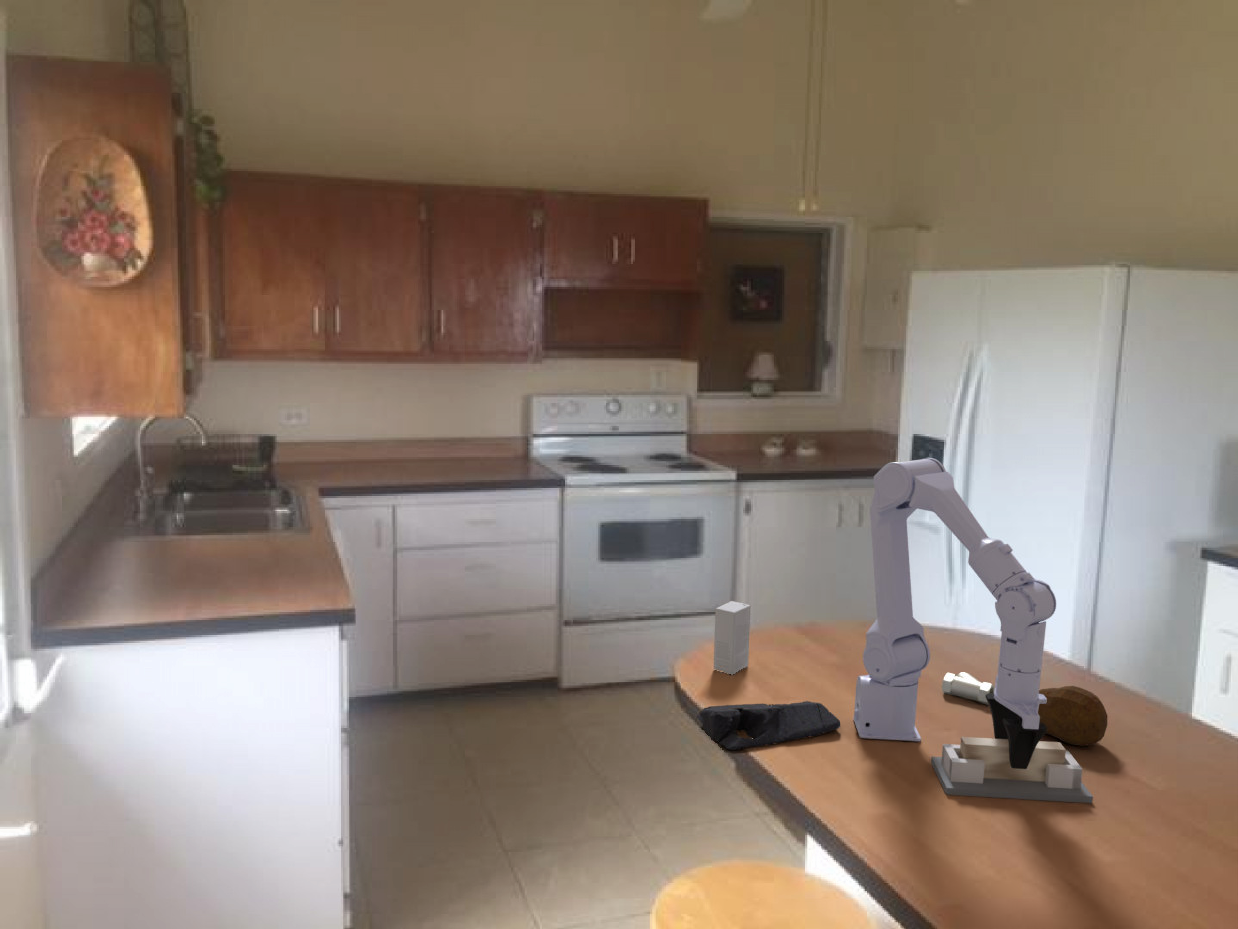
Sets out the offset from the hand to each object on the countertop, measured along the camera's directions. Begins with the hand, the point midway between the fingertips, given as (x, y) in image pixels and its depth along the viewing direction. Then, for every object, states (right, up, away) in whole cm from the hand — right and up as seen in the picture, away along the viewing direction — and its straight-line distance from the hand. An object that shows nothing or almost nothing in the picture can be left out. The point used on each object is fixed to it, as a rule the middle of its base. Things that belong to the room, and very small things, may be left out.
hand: (1010, 755), depth 152 cm
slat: (0, -3, +1) cm, 3 cm away
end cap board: (0, -4, +1) cm, 4 cm away
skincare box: (-36, +4, +43) cm, 56 cm away
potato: (+15, -2, +16) cm, 22 cm away
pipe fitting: (+5, +1, +33) cm, 33 cm away
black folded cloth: (-32, -1, +18) cm, 37 cm away
